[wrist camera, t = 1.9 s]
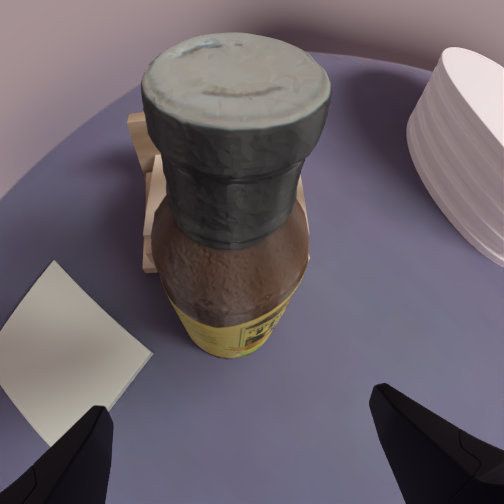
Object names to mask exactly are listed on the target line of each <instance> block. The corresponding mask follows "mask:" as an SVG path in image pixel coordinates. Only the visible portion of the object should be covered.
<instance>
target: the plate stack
mask: <svg viewBox="0 0 504 504" xmlns="http://www.w3.org/2000/svg"><path fill="white" fill-rule="evenodd" d="M406 136H407V143H408V148H409V152H410V155H411V158H412V160H413V163H414V165H415V168H416V170H417V172H418V174H419V176H420V178H421V180H422V182H423V184H424V185H425V187H426V189H427V190H428V192H429V194H430V195H431V197H432V198H433V200H434V201H435V203H436V204H437V205H438V207H439V208H440V210H441V211H442V212H443V214H444V215H445V216H446V217H447V219H448V220H449V221H450V222H451V224H452V225H453V226H454V227H455V228H456V229H457V230H458V232H459V233H460V234H461V235H462V236H463V237H464V238H465V239H466V240H467V241H468V242H469V243H470V244H471V245H472V246H474V247H475V248H476V249H477V250H478V251H479V252H481V253H482V254H483V255H484V256H486V257H487V258H488V259H490V260H491V261H493V262H494V263H496V264H498V265H500V266H502V267H504V68H503V67H502V66H500V65H499V64H497V63H495V62H494V61H492V60H490V59H488V58H486V57H484V56H482V55H480V54H478V53H476V52H473V51H470V50H467V49H463V48H458V47H451V48H447V49H445V50H444V51H443V53H442V54H441V57H440V59H439V61H438V65H437V66H436V67H435V69H434V71H433V73H432V75H431V78H430V80H429V81H428V83H427V85H426V87H425V89H424V91H423V94H422V95H421V97H420V99H419V100H418V102H417V104H416V107H415V109H414V110H413V112H412V114H411V116H410V117H409V120H408V123H407V129H406Z"/></svg>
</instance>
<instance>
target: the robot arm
mask: <svg viewBox="0 0 504 504" xmlns="http://www.w3.org/2000/svg"><path fill="white" fill-rule="evenodd" d="M369 406H370V410H371V413H372V417H373V420H374V423H375V427H376V430H377V433H378V437H379V440H380V443H381V445H382V448H383V450H384V452H385V455H386V457H387V459H388V462H389V464H390V466H391V469H392V471H393V474H394V476H395V478H396V481H397V483H398V486H399V488H400V490H401V493H402V495H403V498H404V500H405V503H406V504H504V450H502V449H499V448H497V447H495V446H492V445H490V444H488V443H486V442H484V441H482V440H480V439H477V438H476V437H474V436H472V435H470V434H468V433H467V432H465V431H463V430H462V429H459V428H458V427H456V426H455V425H453V424H451V423H450V422H448V421H446V420H445V419H443V418H441V417H440V416H438V415H436V414H435V413H433V412H432V411H430V410H428V409H427V408H425V407H423V406H422V405H420V404H419V403H417V402H415V401H414V400H412V399H411V398H409V397H407V396H406V395H404V394H403V393H401V392H399V391H398V390H396V389H395V388H393V387H391V386H390V385H388V384H386V383H382V384H378V385H375V386H374V388H373V391H372V394H371V397H370V400H369ZM112 441H113V421H112V419H111V417H110V414H109V412H108V410H107V408H106V407H105V406H101V405H94V406H92V407H91V408H90V409H89V410H88V411H87V412H86V413H85V414H84V415H83V416H82V417H81V418H80V419H79V420H78V421H77V422H76V423H75V424H74V425H73V426H72V427H71V428H70V429H69V430H68V431H67V432H66V433H65V434H64V435H63V436H62V437H61V438H60V439H59V440H57V441H56V442H55V443H54V444H53V445H52V446H51V447H50V448H49V449H48V450H47V451H46V452H45V453H44V454H43V455H42V456H41V457H40V458H39V459H38V460H37V461H36V462H35V463H34V464H33V465H32V466H31V467H30V468H29V469H28V470H27V471H26V472H25V473H24V474H23V475H21V476H20V477H19V478H18V479H17V480H16V481H15V482H13V483H12V484H11V485H10V486H8V487H7V488H6V489H4V490H3V491H2V492H1V493H0V504H105V500H106V493H107V487H108V480H109V474H110V468H111V459H112Z"/></svg>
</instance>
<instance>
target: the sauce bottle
mask: <svg viewBox="0 0 504 504" xmlns="http://www.w3.org/2000/svg"><path fill="white" fill-rule="evenodd" d="M141 94H142V101H143V110H144V114H145V120H146V124H147V131H148V135H149V136H150V138H151V141H152V142H153V144H154V145H155V147H156V148H157V149H158V150H159V151H160V153H161V159H162V166H163V173H164V176H165V179H166V196H165V197H164V199H163V200H162V202H161V203H160V205H159V207H158V208H157V210H156V211H155V212H154V221H153V224H152V231H151V249H152V257H153V260H154V263H155V266H156V268H157V271H158V273H159V275H160V278H161V282H162V285H163V288H164V290H165V292H166V294H167V296H168V298H169V300H170V302H171V304H172V306H173V307H174V309H175V311H176V312H177V314H178V316H179V318H180V320H181V321H182V323H183V325H184V327H185V329H186V331H187V332H188V334H189V336H190V337H191V339H192V340H193V341H194V342H195V344H197V345H198V346H199V347H200V348H201V349H203V350H205V351H206V352H207V353H209V354H211V355H213V356H215V357H218V358H223V359H234V358H238V357H241V356H245V355H248V354H250V353H252V352H254V351H255V350H257V349H258V348H259V347H260V346H261V345H262V344H263V343H264V342H265V341H266V340H267V339H268V337H269V335H270V334H271V332H272V330H273V329H274V327H275V325H276V324H277V322H278V321H279V319H280V318H281V316H282V314H283V313H284V311H285V309H286V307H287V305H288V303H289V301H290V299H291V297H292V295H293V294H294V292H295V290H296V289H297V287H298V285H299V283H300V282H301V280H302V278H303V276H304V273H305V270H306V268H307V263H308V257H309V232H308V227H307V220H306V216H305V212H304V210H303V208H302V207H301V205H300V203H299V201H298V200H297V186H298V182H299V178H300V174H301V169H302V166H303V164H304V161H305V158H306V157H307V156H309V154H310V153H311V152H312V150H313V149H314V147H315V146H316V144H317V142H318V140H319V138H320V135H321V133H322V130H323V128H324V125H325V122H326V118H327V115H328V109H329V105H330V102H331V94H332V88H331V83H330V80H329V78H328V76H327V73H326V71H325V70H324V69H323V68H322V67H321V66H320V65H318V64H317V63H316V62H315V61H314V59H313V58H312V57H311V56H310V55H309V54H308V53H306V52H305V51H303V50H301V49H299V48H297V47H295V46H293V45H291V44H288V43H286V42H283V41H280V40H276V39H273V38H268V37H264V36H259V35H253V34H247V33H217V34H209V35H202V36H197V37H193V38H189V39H187V40H185V41H182V42H180V43H178V44H175V45H174V46H172V47H170V48H169V49H167V50H165V51H164V52H162V53H161V54H160V55H159V56H158V57H157V58H155V59H154V60H153V61H152V62H151V63H150V64H149V67H148V68H147V69H146V70H145V72H144V75H143V77H142V81H141Z"/></svg>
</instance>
